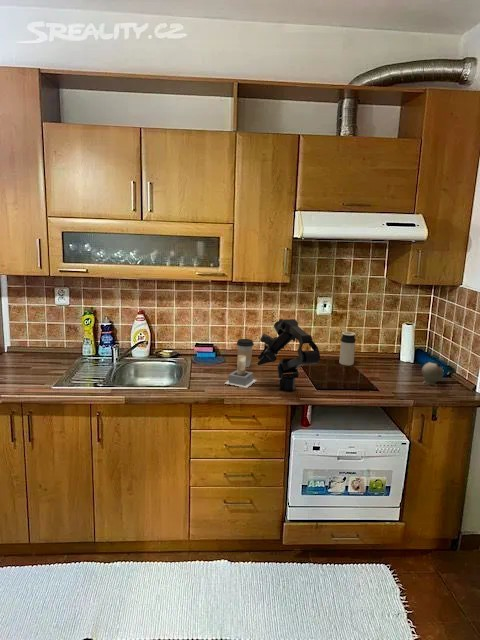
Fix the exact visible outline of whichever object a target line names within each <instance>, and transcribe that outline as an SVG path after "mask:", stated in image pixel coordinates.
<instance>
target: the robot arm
mask: <svg viewBox="0 0 480 640" xmlns="http://www.w3.org/2000/svg"><path fill="white" fill-rule="evenodd" d="M273 329H274V331H275V332H276V334H277V335H278V336H275V337H272V336H270V335H268V334H266V333H262V335H261V337H260V338H259V341H260V342H261V343H264V345H263V346H264V347H263V349H262V351H261V352H260V354H259V356H258V357H257V360H258V361H257V363H256V364H257V365H258V366H260V365H264V364H267V363H275V361H276V360H277V355H278V354H279V352H280V351H281V350H284V349H285V346H287V345H288V344H289V343H291V342H292V341H293V342H296V340H297V341H298V343H299V345H298V349H297V355H298V356H297V357H291V358H288V357H287V358H282V359H280V360H279V362H278V364H277V375H278V378H279V388H278V390H279V391H285V392H287V393H288V392H289V393H292V392H293V391H294V390H295V389H296V388H297V387H296V378H297V379H298V378H299V371H298V368H300V367H303V366H305V365H313V364H315V365H317V364H319V362H320V360H321V355H320V350H319V346H317V344H316V343H315V342H314V341H313V336H312V335H311V334H308V333H307V332H306V331H304V329H302V328H301V327H300V326H299V322H298V321H297V320H296V319H295V318H288V319H284V318H279V319H278V321H276V322H275V323H274V324H273ZM305 344H306V345H309V347H310V348H311V349H312V350H303V349H302V348H303V345H305Z"/></svg>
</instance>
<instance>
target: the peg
mask: <svg viewBox="0 0 480 640" xmlns="http://www.w3.org/2000/svg"><path fill="white" fill-rule="evenodd" d="M236 362H237V364H236V367H237V369H236V370H237V375H238V376H245V371H246V369H245V366H246V356H245V355H238V354H237V361H236Z"/></svg>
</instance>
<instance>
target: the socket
mask: <svg viewBox="0 0 480 640" xmlns="http://www.w3.org/2000/svg"><path fill="white" fill-rule="evenodd" d="M256 381H257V382H258V380H257V379H254V372H252V371H248V370H245V376H238V375H237V369H236V370H234V371H232V372H231V373H229V374H228V380H226V382H224V385H225V384H230V385H235V386H239V387H244V388H248V387H249V386H251V385H252V384H253V383H255V382H256ZM257 382H256V383H257ZM256 383H255V384H256ZM253 385H254V384H253ZM253 385H252V386H253ZM252 386H251V387H252ZM249 388H250V387H249ZM249 388H248V389H249Z"/></svg>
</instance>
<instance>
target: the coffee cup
mask: <svg viewBox="0 0 480 640" xmlns="http://www.w3.org/2000/svg"><path fill="white" fill-rule="evenodd" d="M236 346H237V348H236V351H237V356H238V355H245V356H246V366H245V367H249V366H250V367H251V360H252V356H253V355H252V354H253V346H254V342H253V339H250V338H240V339H238V340H237V341H236Z"/></svg>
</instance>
